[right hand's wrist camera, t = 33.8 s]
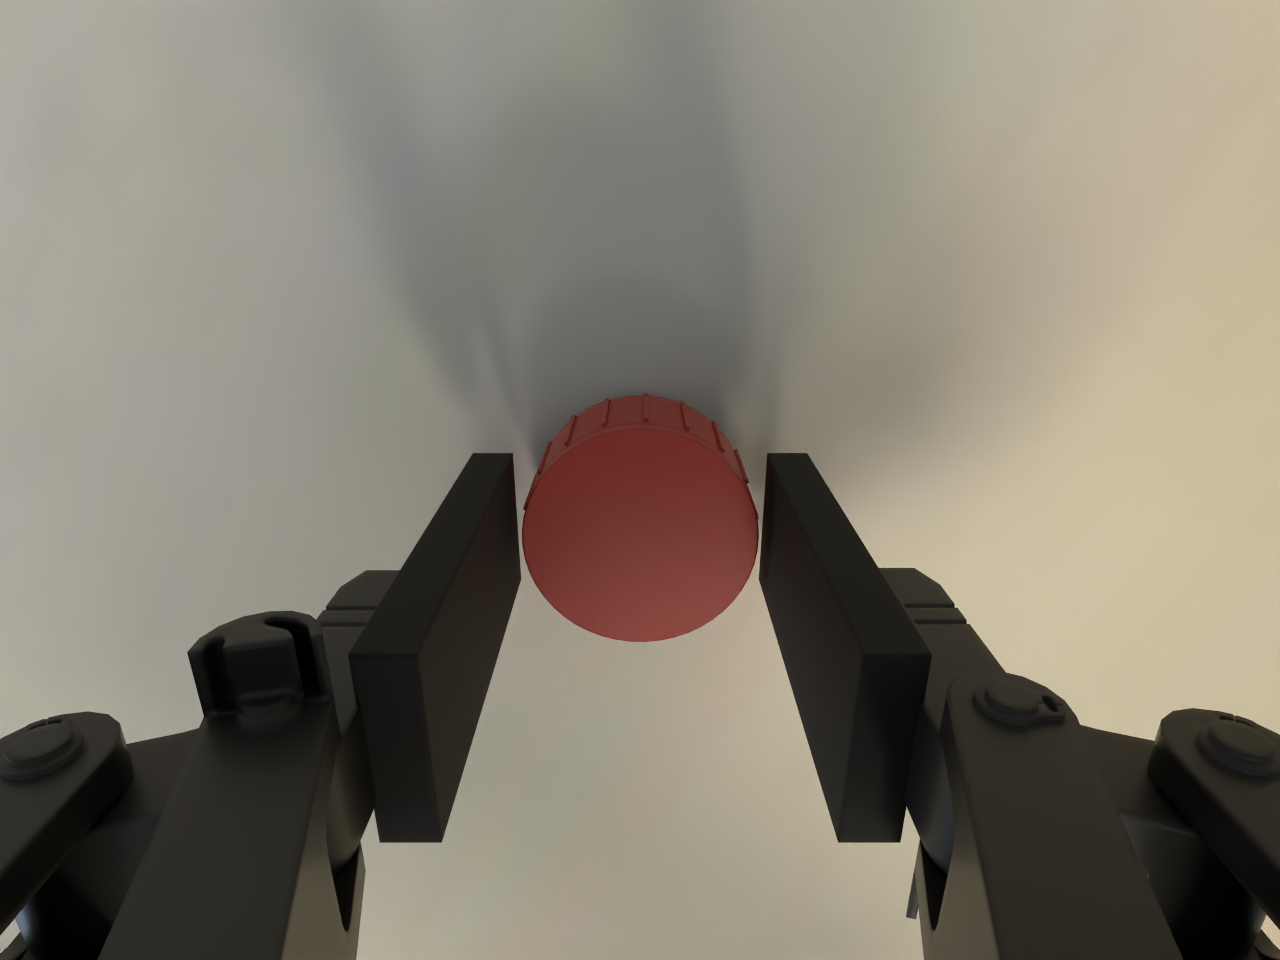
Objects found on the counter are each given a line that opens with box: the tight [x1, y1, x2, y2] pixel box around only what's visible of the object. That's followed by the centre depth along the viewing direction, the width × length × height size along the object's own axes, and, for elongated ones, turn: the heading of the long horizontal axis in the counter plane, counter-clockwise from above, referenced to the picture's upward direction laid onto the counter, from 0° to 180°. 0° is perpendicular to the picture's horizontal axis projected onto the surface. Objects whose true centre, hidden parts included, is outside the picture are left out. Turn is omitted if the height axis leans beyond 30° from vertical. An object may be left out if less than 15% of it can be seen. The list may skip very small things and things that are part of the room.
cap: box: [522, 394, 759, 642], centre depth 15 cm, size 4×4×2 cm
